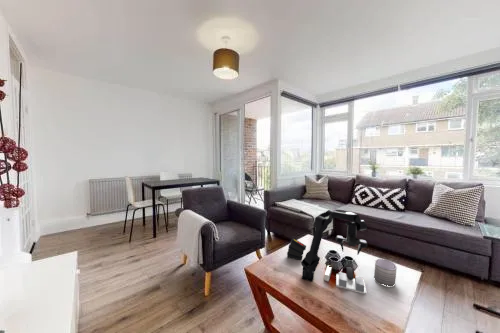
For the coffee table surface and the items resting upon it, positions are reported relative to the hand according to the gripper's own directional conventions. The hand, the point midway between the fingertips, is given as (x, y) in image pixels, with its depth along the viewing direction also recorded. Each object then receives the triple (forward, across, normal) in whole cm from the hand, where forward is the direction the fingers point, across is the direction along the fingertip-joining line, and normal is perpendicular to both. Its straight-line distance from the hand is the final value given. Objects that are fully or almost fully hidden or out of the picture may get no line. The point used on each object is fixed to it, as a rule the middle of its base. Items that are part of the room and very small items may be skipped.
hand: (350, 253), depth 139 cm
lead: (+11, 0, -6) cm, 12 cm away
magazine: (+12, -36, -2) cm, 38 cm away
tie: (+12, -13, -14) cm, 23 cm away
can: (+12, +20, -4) cm, 24 cm away
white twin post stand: (+12, 0, -17) cm, 21 cm away
